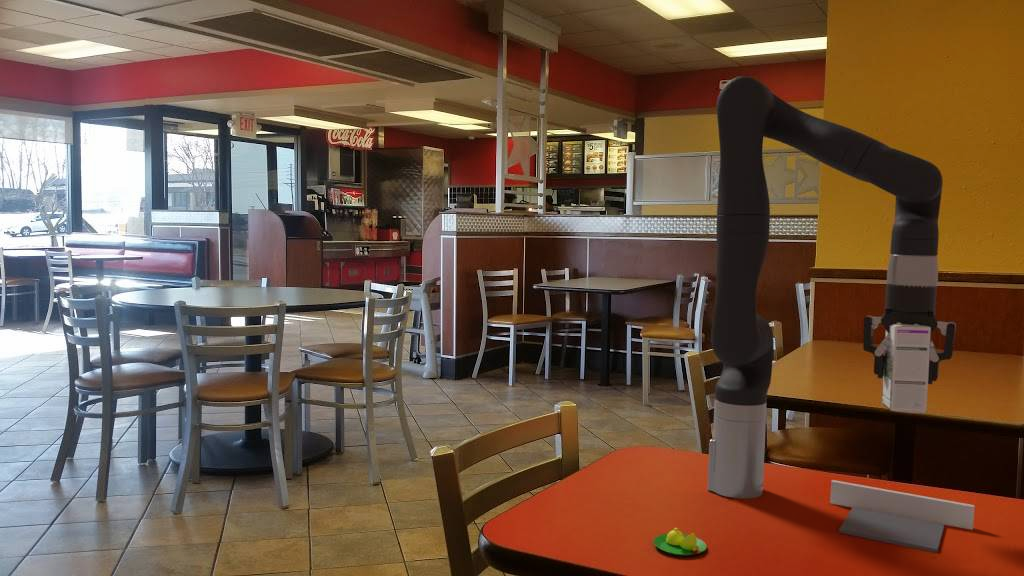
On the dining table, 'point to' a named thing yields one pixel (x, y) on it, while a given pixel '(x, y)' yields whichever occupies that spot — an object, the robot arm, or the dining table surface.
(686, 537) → the green fruit plate
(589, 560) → the dining table surface
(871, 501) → the low wall
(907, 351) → the syrup box
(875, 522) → the mat
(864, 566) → the dining table surface
